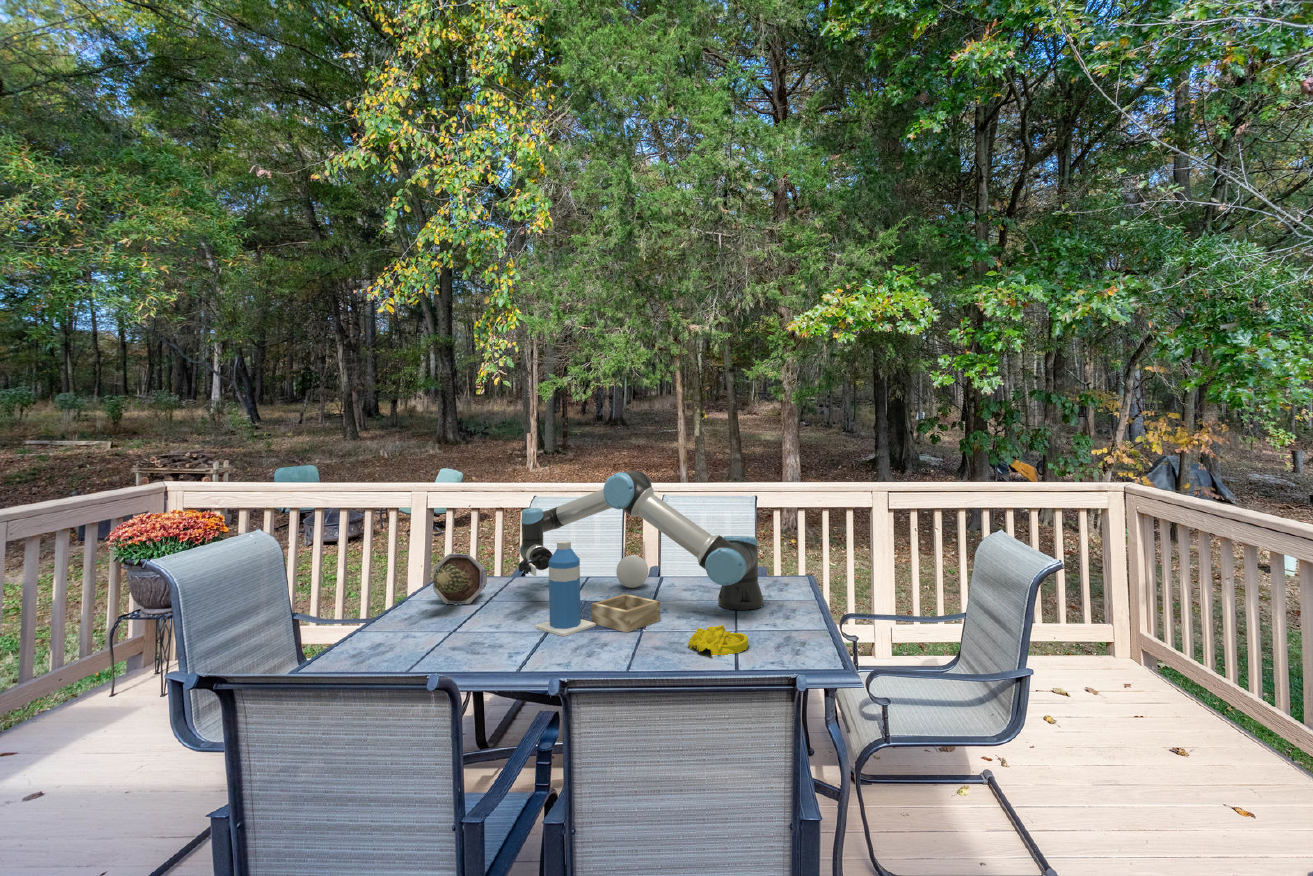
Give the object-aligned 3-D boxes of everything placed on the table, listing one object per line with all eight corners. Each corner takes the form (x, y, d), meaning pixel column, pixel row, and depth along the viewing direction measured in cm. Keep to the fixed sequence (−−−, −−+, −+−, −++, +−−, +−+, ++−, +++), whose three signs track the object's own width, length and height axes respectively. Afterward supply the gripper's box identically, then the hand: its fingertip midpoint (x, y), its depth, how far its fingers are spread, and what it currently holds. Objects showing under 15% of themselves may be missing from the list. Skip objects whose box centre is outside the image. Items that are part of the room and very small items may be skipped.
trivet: (596, 625, 199) (595, 623, 199) (563, 636, 189) (563, 633, 189) (567, 618, 208) (567, 615, 208) (534, 628, 198) (534, 625, 198)
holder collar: (660, 620, 203) (659, 601, 203) (626, 632, 192) (626, 612, 192) (625, 612, 213) (624, 593, 213) (591, 623, 202) (591, 603, 202)
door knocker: (758, 651, 176) (758, 635, 176) (706, 661, 169) (706, 645, 169) (725, 634, 191) (725, 619, 191) (676, 642, 184) (676, 627, 184)
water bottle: (567, 630, 192) (565, 545, 192) (543, 626, 197) (541, 543, 197) (587, 622, 200) (585, 540, 200) (563, 618, 205) (562, 538, 205)
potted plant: (446, 554, 241) (417, 549, 211) (495, 556, 241) (472, 551, 211) (441, 603, 237) (410, 605, 208) (490, 605, 237) (467, 608, 207)
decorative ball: (648, 583, 252) (647, 552, 252) (648, 591, 240) (648, 558, 240) (617, 584, 252) (616, 553, 251) (616, 591, 240) (615, 559, 239)
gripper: (574, 564, 231) (594, 576, 212) (503, 571, 221) (517, 585, 202) (574, 543, 231) (593, 553, 212) (502, 549, 221) (516, 561, 201)
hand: (556, 569), depth 207 cm, fingers open, 13 cm apart
